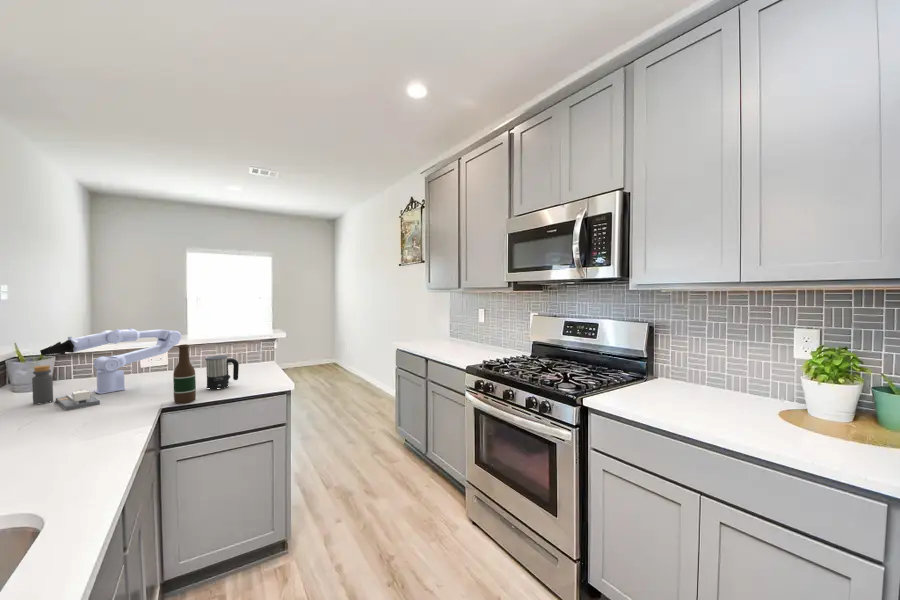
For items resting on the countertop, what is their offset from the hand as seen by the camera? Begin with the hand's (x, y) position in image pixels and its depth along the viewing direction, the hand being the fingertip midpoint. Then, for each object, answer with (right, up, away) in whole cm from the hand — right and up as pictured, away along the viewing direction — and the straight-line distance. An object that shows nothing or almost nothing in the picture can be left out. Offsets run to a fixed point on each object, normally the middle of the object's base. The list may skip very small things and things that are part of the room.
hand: (44, 352), depth 161 cm
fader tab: (+17, -20, -2) cm, 26 cm away
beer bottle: (+54, -22, +5) cm, 59 cm away
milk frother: (+54, -21, +30) cm, 65 cm away
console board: (+12, -21, +2) cm, 24 cm away
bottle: (-3, -21, +3) cm, 22 cm away
